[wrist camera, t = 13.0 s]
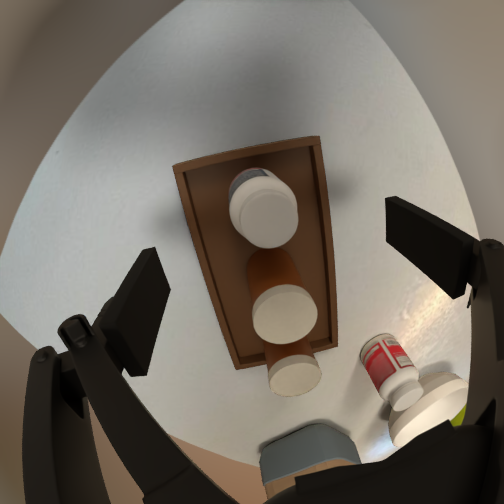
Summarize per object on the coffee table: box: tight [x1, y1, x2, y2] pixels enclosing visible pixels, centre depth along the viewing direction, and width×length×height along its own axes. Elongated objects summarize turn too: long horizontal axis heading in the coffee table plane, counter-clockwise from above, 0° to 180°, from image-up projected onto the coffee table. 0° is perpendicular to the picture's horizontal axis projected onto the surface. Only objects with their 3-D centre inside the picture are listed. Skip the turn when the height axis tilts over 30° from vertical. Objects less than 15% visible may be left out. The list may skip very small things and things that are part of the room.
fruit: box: [450, 404, 466, 426], centre depth 48 cm, size 9×9×10 cm
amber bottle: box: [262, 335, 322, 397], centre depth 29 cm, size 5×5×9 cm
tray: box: [172, 136, 338, 370], centre depth 30 cm, size 26×14×2 cm, turn 11°
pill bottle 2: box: [361, 334, 423, 411], centre depth 33 cm, size 6×6×11 cm
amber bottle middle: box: [247, 247, 317, 344], centre depth 26 cm, size 5×5×9 cm
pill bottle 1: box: [228, 168, 298, 248], centre depth 23 cm, size 5×5×9 cm
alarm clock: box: [259, 424, 362, 499], centre depth 37 cm, size 17×17×23 cm
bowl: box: [388, 372, 469, 447], centre depth 42 cm, size 19×19×9 cm
